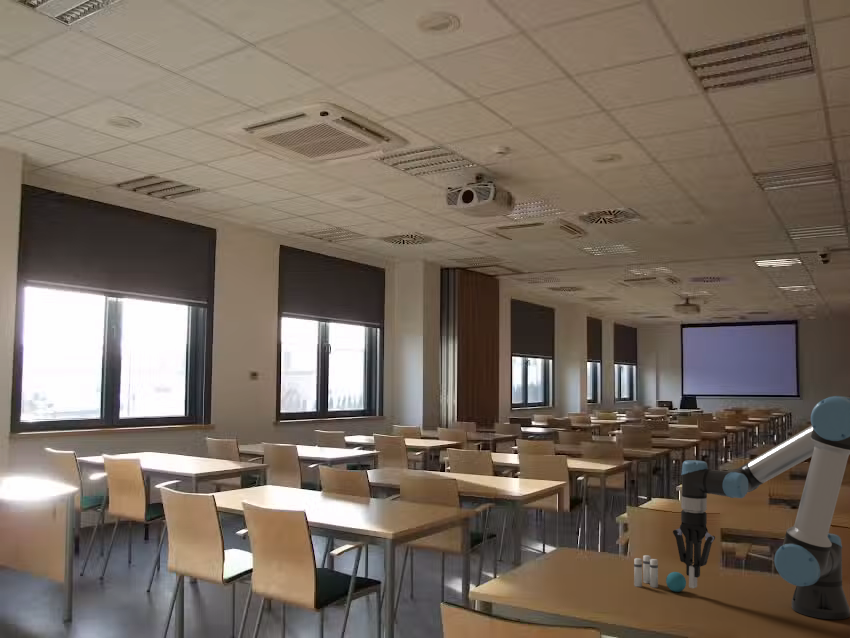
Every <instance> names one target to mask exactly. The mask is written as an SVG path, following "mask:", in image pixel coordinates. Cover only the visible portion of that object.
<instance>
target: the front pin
mask: <svg viewBox="0 0 850 638" xmlns="http://www.w3.org/2000/svg"><path fill="white" fill-rule="evenodd" d="M649 587H650V588H655V589H656V588H659V559H657V558H651V559H650V583H649Z"/></svg>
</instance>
